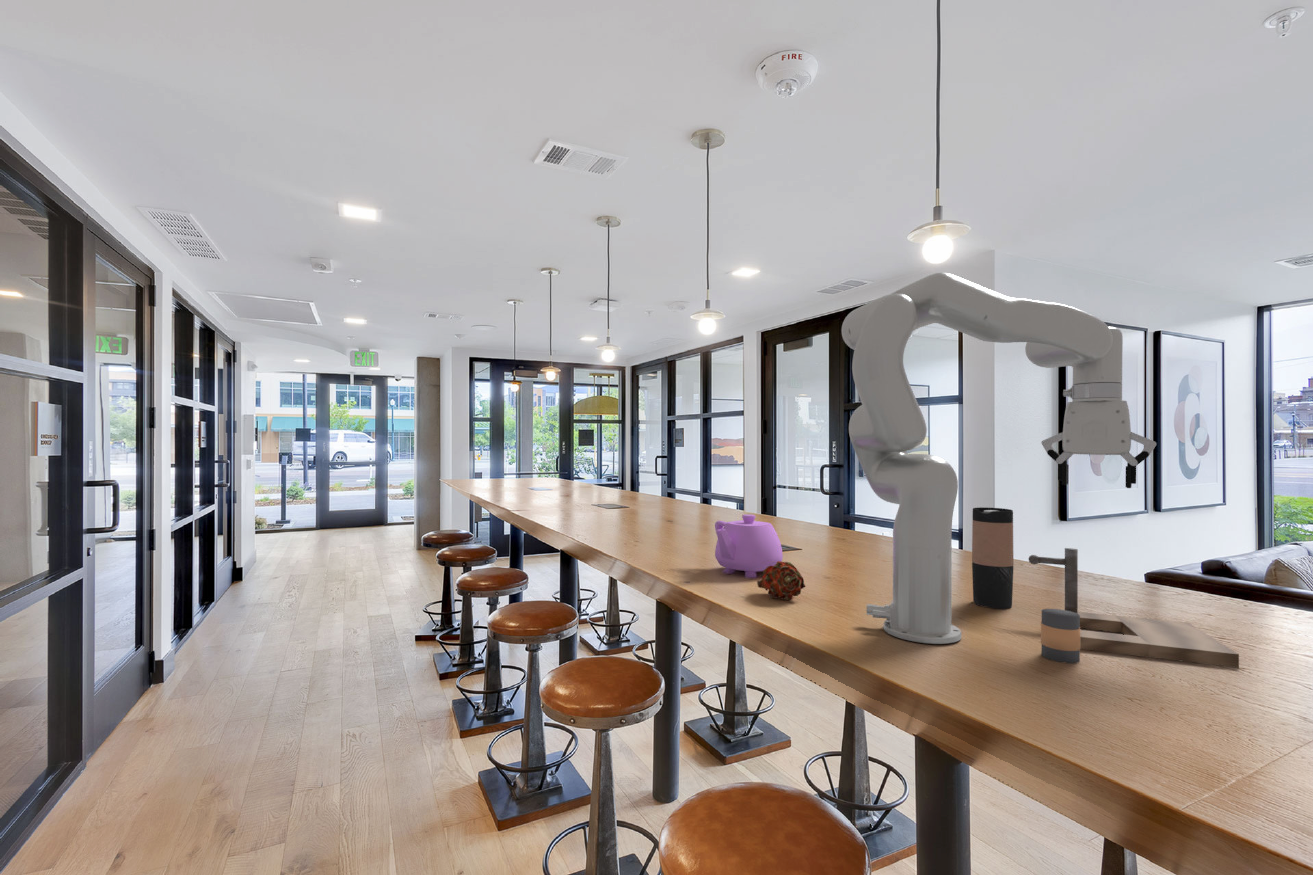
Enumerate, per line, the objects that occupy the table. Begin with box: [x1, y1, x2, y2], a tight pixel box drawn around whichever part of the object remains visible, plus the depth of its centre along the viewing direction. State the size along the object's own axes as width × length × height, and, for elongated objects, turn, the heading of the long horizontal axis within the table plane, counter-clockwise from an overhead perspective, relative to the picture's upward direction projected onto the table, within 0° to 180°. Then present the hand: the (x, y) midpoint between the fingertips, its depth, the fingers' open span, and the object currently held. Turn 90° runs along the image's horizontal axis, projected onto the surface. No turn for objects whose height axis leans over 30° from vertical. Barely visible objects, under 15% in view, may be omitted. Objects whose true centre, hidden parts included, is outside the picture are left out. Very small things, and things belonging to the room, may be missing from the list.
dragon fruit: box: [756, 561, 806, 601], centre depth 132 cm, size 8×8×12 cm
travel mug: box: [971, 506, 1015, 610], centre depth 127 cm, size 8×8×20 cm
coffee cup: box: [1040, 608, 1081, 664], centre depth 95 cm, size 5×5×7 cm
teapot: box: [714, 514, 784, 579], centre depth 157 cm, size 20×20×15 cm
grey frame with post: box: [1028, 547, 1240, 669], centre depth 105 cm, size 25×18×14 cm
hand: (1095, 486), depth 112 cm, fingers open, 9 cm apart
